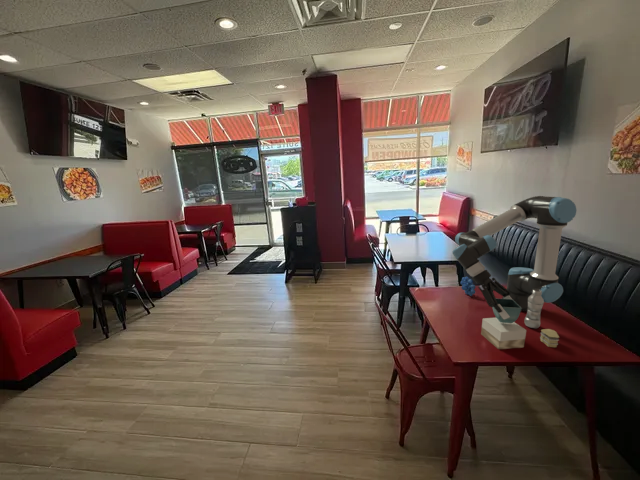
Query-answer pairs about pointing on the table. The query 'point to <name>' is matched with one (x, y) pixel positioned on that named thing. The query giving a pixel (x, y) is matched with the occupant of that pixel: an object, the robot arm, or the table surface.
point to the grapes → (468, 286)
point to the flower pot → (508, 310)
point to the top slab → (503, 329)
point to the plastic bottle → (534, 309)
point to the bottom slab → (502, 344)
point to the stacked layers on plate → (549, 337)
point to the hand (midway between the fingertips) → (511, 313)
